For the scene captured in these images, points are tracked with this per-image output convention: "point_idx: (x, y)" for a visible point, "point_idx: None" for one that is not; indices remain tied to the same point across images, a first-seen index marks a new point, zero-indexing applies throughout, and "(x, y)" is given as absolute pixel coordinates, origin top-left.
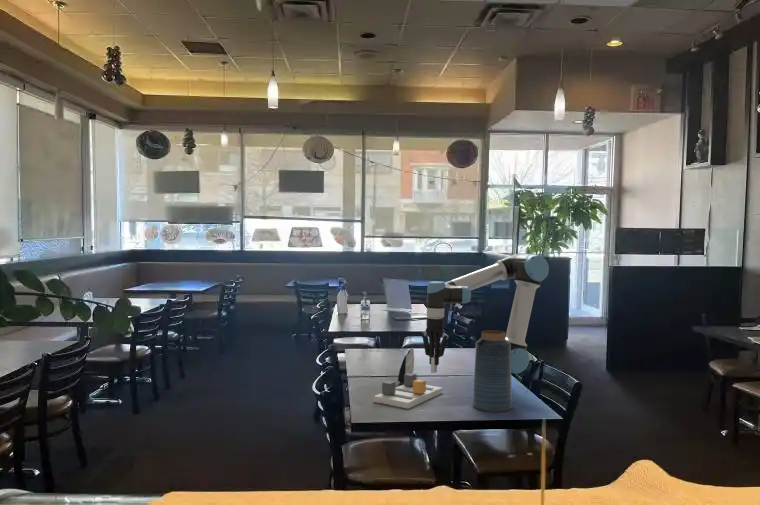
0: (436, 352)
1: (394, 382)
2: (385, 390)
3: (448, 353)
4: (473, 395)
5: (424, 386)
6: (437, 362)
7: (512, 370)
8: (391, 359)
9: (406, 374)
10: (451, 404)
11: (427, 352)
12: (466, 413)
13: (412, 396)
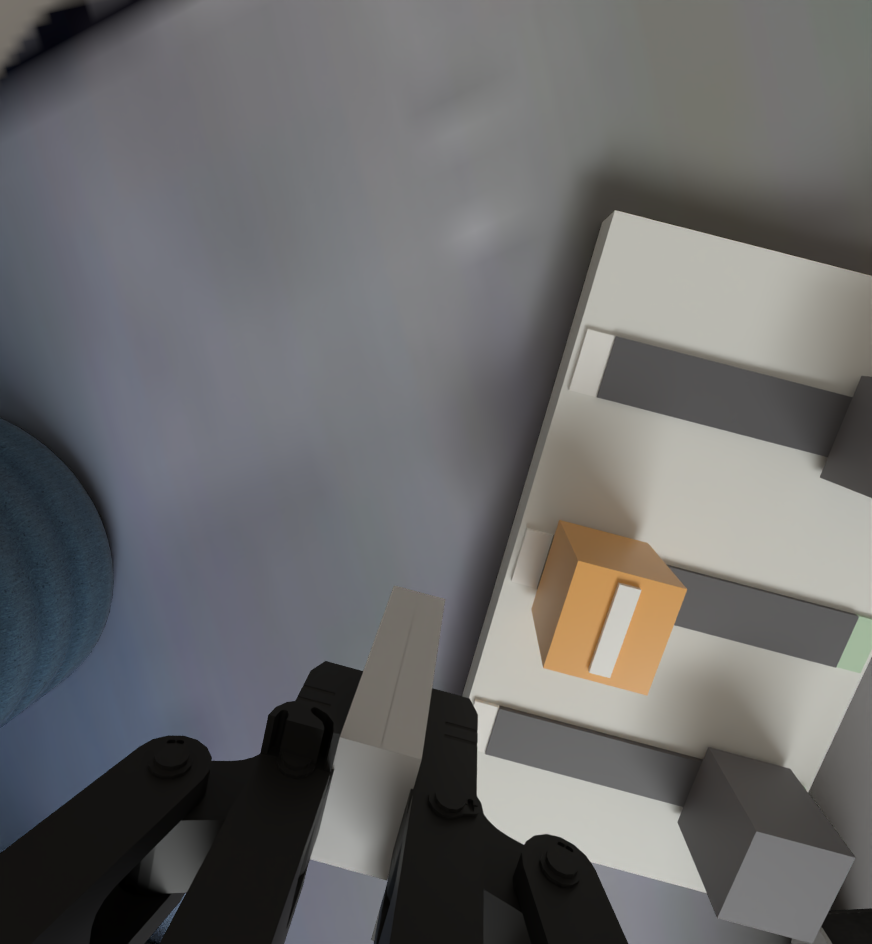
0: (230, 850)
1: None
2: None
3: None
4: (31, 520)
5: (544, 611)
6: (298, 696)
7: None
8: None
9: (827, 870)
10: (279, 500)
11: (538, 896)
12: (93, 291)
13: (625, 450)
